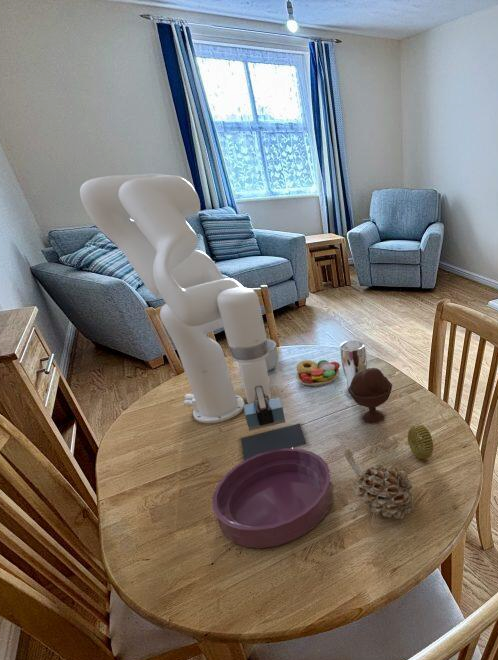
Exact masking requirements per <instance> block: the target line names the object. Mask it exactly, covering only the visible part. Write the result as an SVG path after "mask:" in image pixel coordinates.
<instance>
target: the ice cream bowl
mask: <svg viewBox="0 0 498 660" xmlns="http://www.w3.org/2000/svg"><path fill="white" fill-rule="evenodd" d="M392 388H393V383H392V382H391V381H390V380H389V379H388V377H387V376H386V375H384V374H383V372H382V370H380V369H379V368H377V367H367V369H366V370H365V371H361V372H359V373H357V374H356V375H355V376H354V378H353V379H352V382H351V385H350V387H349V389H348V391H349V393H350V395H351V397H350V398H352V400H353V401H354V402H355V403H356V404H357V405H359V406H360V407H365V408H367V409H368V411H365V412H364V413H363V416H362V420H363V421H364V423H368V424H377V423H381V421H383V420H384V414H383V412H382V411H380V410H378V409H377V407H379V406H381V405H383V404H384V403H386V402H387V401H388V400H389V398H390V396H391V392H392Z"/></svg>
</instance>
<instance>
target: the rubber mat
mask: <svg viewBox="0 0 498 660" xmlns="http://www.w3.org/2000/svg"><path fill="white" fill-rule="evenodd" d="M240 441H241V447H242V456H243V457H242V458H243V461H245V460H246V459H248V458H250V457H253V456H255V455H257V454H260V453H263V452H267V451H271V450H276V449H284V448H293V449H294V448H296V447H300V446H305V445H307V440H306V438H305V435H304V431H303V429H302V425H301V424H300V423H295V424H292V425H287V426H284V427H279V428H276V429H273V430H268V431H263V432H260V433H256V434H252V435H248V436H245V437H241V438H240Z"/></svg>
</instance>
